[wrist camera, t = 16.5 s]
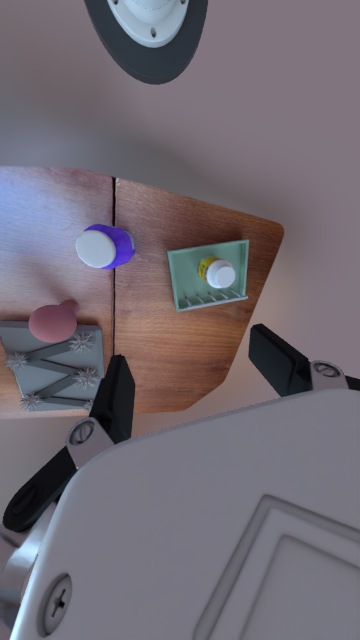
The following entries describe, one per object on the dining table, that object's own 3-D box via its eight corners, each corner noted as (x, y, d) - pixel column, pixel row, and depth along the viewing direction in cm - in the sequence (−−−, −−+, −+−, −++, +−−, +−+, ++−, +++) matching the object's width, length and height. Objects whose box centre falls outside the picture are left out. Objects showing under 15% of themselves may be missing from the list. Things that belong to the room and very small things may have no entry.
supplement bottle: (194, 259, 37) (208, 266, 28) (216, 252, 37) (238, 256, 28) (199, 282, 40) (213, 295, 31) (220, 275, 40) (241, 286, 31)
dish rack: (166, 250, 36) (170, 253, 29) (242, 239, 38) (262, 239, 31) (175, 307, 42) (180, 320, 36) (239, 295, 44) (255, 305, 38)
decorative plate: (-1, 317, 36) (-32, 334, 30) (102, 323, 41) (94, 338, 35) (31, 406, 49) (13, 430, 43) (107, 402, 54) (101, 424, 47)
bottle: (133, 228, 33) (121, 219, 18) (138, 257, 36) (130, 272, 20) (96, 229, 32) (48, 221, 17) (103, 260, 35) (68, 277, 19)
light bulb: (93, 318, 40) (73, 347, 29) (62, 321, 39) (30, 353, 28) (84, 290, 37) (58, 312, 26) (49, 293, 36) (8, 317, 25)
